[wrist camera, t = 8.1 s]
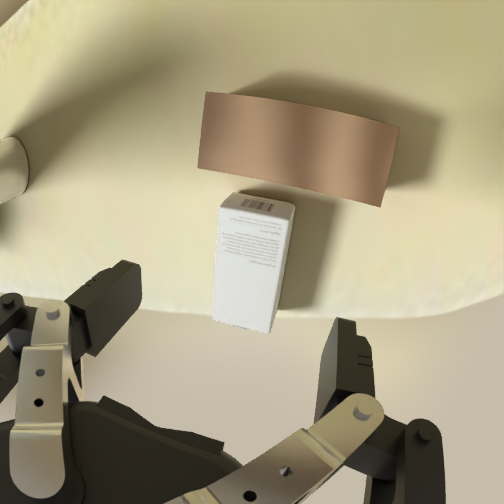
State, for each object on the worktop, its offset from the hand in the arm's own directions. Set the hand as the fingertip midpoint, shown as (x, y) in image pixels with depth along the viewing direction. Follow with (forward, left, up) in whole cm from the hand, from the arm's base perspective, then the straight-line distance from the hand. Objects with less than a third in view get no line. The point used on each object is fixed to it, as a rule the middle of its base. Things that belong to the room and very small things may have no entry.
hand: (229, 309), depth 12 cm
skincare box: (-2, -1, -16) cm, 16 cm away
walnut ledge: (0, +5, -18) cm, 19 cm away
